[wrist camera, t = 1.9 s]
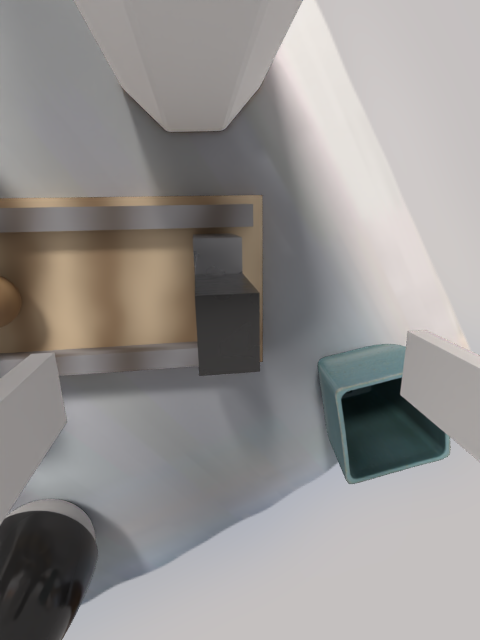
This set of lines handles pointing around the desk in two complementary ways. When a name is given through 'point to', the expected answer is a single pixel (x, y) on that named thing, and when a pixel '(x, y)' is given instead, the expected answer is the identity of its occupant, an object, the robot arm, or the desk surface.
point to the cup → (189, 53)
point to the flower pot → (375, 415)
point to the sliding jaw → (225, 307)
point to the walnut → (8, 301)
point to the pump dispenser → (44, 568)
